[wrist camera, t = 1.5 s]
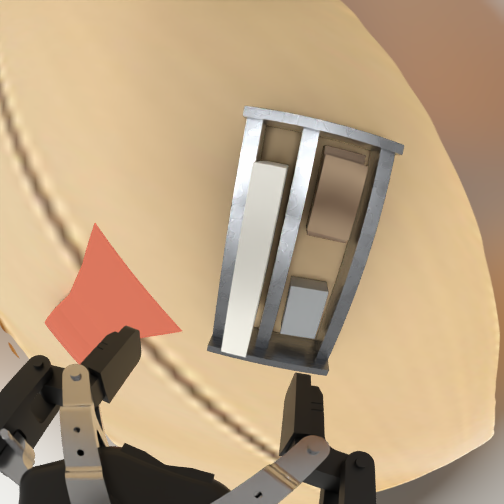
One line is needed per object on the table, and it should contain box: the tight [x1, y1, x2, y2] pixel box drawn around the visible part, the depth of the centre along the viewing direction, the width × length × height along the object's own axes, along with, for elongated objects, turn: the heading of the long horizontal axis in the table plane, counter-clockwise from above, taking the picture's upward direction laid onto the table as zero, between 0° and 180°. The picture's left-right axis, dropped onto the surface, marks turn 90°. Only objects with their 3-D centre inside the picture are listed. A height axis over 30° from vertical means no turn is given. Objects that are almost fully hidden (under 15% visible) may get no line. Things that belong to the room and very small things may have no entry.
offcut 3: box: [306, 154, 368, 241], centre depth 27 cm, size 8×4×2 cm, turn 169°
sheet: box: [45, 223, 182, 364], centre depth 40 cm, size 6×30×24 cm
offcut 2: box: [306, 145, 366, 243], centre depth 29 cm, size 10×4×2 cm, turn 171°
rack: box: [207, 106, 404, 376], centre depth 30 cm, size 28×15×6 cm, turn 170°
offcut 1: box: [280, 276, 328, 339], centre depth 34 cm, size 7×4×3 cm, turn 173°
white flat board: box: [221, 161, 289, 357], centre depth 28 cm, size 18×2×11 cm, turn 170°
